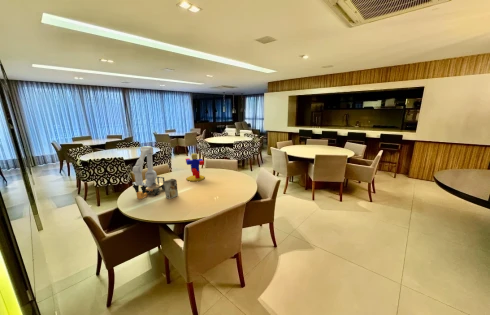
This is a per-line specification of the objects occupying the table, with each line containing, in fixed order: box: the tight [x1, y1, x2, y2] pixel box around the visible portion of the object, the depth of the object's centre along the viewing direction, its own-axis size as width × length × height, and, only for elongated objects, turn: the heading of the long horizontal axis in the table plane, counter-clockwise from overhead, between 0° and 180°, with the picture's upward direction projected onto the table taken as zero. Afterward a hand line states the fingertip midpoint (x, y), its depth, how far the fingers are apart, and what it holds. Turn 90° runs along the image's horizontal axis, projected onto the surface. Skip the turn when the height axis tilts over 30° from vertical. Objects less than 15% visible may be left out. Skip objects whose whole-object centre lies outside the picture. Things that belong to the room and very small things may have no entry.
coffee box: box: [164, 178, 179, 200], centre depth 177 cm, size 9×6×16 cm
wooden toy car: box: [145, 176, 165, 196], centre depth 189 cm, size 17×14×13 cm
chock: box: [136, 190, 148, 200], centre depth 178 cm, size 5×7×6 cm
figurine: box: [185, 153, 206, 183], centre depth 224 cm, size 22×22×30 cm
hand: (140, 192), depth 177 cm, fingers open, 7 cm apart
